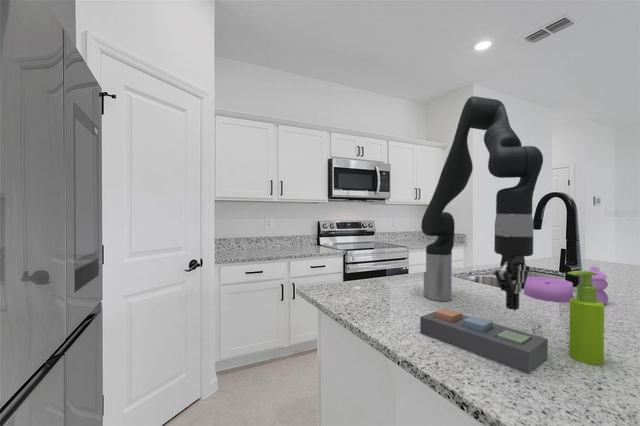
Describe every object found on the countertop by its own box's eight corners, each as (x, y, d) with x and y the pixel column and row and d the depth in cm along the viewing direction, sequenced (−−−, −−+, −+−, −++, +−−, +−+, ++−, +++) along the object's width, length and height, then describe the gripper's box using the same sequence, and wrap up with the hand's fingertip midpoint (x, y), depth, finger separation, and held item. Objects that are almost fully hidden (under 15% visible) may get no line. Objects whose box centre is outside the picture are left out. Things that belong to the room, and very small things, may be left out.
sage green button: (496, 347, 70) (496, 334, 70) (506, 342, 73) (506, 329, 73) (521, 356, 66) (521, 342, 66) (529, 349, 69) (529, 336, 69)
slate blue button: (463, 331, 77) (463, 320, 77) (472, 327, 80) (473, 315, 80) (483, 338, 73) (483, 326, 73) (493, 333, 76) (493, 321, 75)
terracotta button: (434, 322, 83) (434, 311, 83) (444, 318, 86) (444, 308, 86) (451, 328, 79) (451, 316, 79) (461, 323, 82) (461, 312, 82)
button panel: (420, 332, 83) (420, 316, 83) (442, 324, 90) (442, 309, 90) (528, 373, 62) (528, 352, 62) (547, 358, 69) (547, 338, 69)
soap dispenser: (558, 353, 71) (559, 269, 71) (585, 352, 72) (586, 268, 72) (582, 366, 66) (582, 274, 65) (611, 364, 66) (612, 273, 66)
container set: (522, 297, 118) (522, 264, 118) (526, 289, 130) (526, 259, 130) (610, 310, 102) (611, 272, 102) (605, 300, 114) (605, 265, 114)
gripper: (508, 231, 76) (507, 299, 77) (482, 233, 69) (481, 309, 69) (543, 233, 70) (542, 307, 71) (519, 236, 62) (518, 319, 63)
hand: (512, 308), depth 70 cm, fingers closed
